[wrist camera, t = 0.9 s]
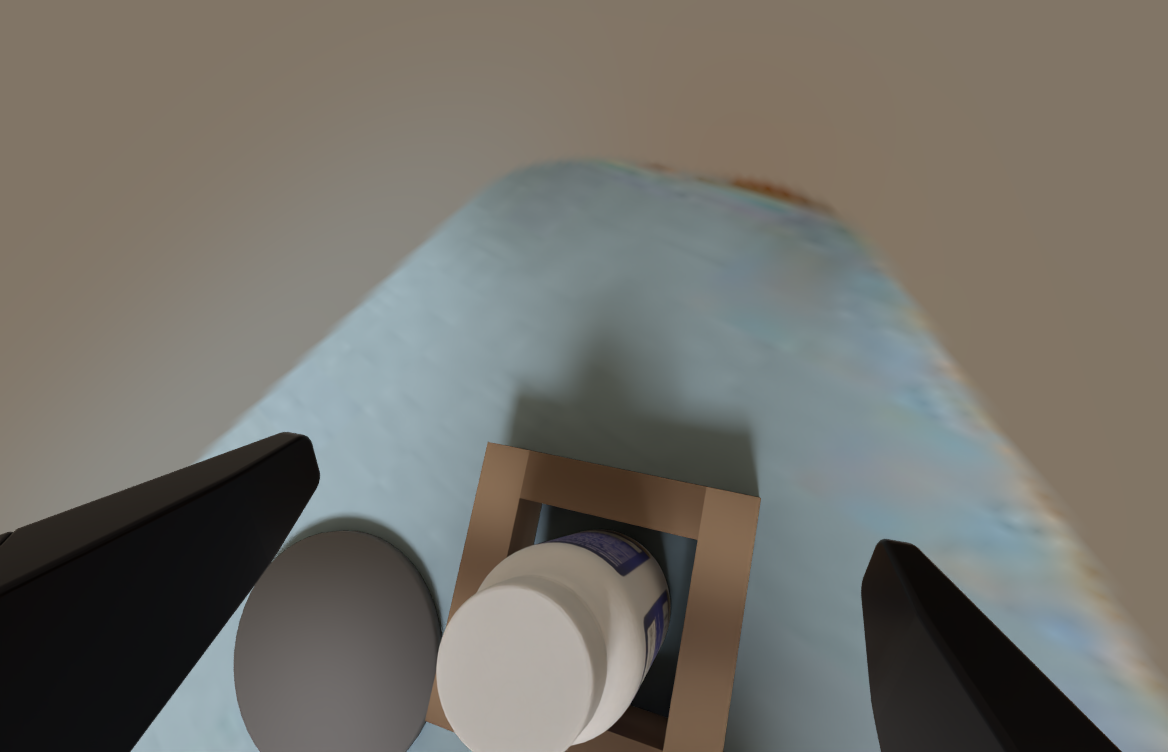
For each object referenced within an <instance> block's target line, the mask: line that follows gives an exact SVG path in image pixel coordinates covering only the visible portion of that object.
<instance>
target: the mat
mask: <svg viewBox="0 0 1168 752" xmlns="http://www.w3.org/2000/svg"><path fill="white" fill-rule="evenodd" d="M440 643H441V632H440V626H439V620H438V616H437V612H436V609H435V605H434V602H433V599H432V597H431V594H430V592H429V590H428V587H427V586H426V584H425V582H424V580H423V578H422V577H421V575H420V573H419V572H418V571H417V569H416V568H415V567H414V565H413V564H412V563H411V562H410V560H409V559H408V558H407V557H406V556H405V555H404V554H403V553H402V552H400V551H399V550H398V549H397V548H395V547H394V546H393V545H392V544H390V543H388V542H386V541H385V540H383V539H381V538H379V537H376V536H374V535H371V534H368V533H363V532H358V531H334V532H326V533H320V534H316V535H313V536H310V537H307V538H305V539H303V540H301V541H299V542H297V543H295V544H294V545H292V546H291V547H289V548H287V549H286V550H285V551H284V552H282V553H281V554H280V555H279V556H278V557H277V558H276V559H275V560H274V561H273V562H272V563H271V564H270V565H269V566H268V568H267V569H266V570H265V572H264V573H263V575H262V576H261V577H260V579H259V580H258V581H257V583H256V584H255V586H254V588H253V590H252V591H251V593H250V595H249V598H248V600H247V602H246V604H245V607H244V610H243V613H242V616H241V619H240V622H239V627H238V631H237V635H236V642H235V650H234V681H235V689H236V695H237V701H238V705H239V708H240V712H241V716H242V718H243V721H244V723H245V726H246V728H247V731H248V733H249V734H250V736H251V738H252V740H253V742H254V744H255V745H256V747H257V748H258V750H259V751H260V752H406V751H407V750H408V749H409V748H410V746H411V745H412V744H413V742H414V741H415V740H416V738H417V737H418V736H419V734H420V732H421V730H422V728H423V727H424V725H425V723H426V721H425V719H426V714H427V710H428V705H429V701H430V696H431V692H432V687H433V683H434V679H435V674H436V666H437V657H438V651H439V646H440Z"/></svg>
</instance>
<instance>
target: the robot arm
mask: <svg viewBox="0 0 1168 752" xmlns="http://www.w3.org/2000/svg"><path fill="white" fill-rule="evenodd" d="M319 480H320V471H319V467H318V464H317V460H316V456H315V453H314V449H313V445H312V442H311V440H310V439H309V438H308V437H307V436H305V435H301V434H296V433H290V432H282V433H279V434H276V435H273V436H270V437H268V438H265V439H262V440H259V441H257V442H254V443H251V444H249V445H246V446H243V447H240V448H238V449H235V450H232V451H229V452H227V453H224V454H221V455H218V456H216V457H213V458H210V459H207V460H205V461H202V462H199V463H196V464H194V465H191V466H188V467H185V468H183V469H180V470H177V471H174V472H172V473H169V474H166V475H164V476H161V477H158V478H155V479H153V480H150V481H147V482H144V483H142V484H139V485H136V486H133V487H131V488H128V489H125V490H123V491H120V492H117V493H114V494H112V495H109V496H106V497H103V498H101V499H98V500H95V501H92V502H90V503H87V504H84V505H81V506H79V507H76V508H73V509H70V510H68V511H65V512H62V513H60V514H57V515H54V516H51V517H48V518H46V519H43V520H40V521H38V522H35V523H32V524H29V525H26V526H24V527H21V528H18V529H17V530H15V531H14V532H7V533H4V534H1V535H0V752H131V750H132V749H133V748H134V746H135V745H136V744H137V742H138V741H139V740H140V738H141V737H142V736H143V734H144V733H145V732H146V730H147V729H148V728H149V726H150V725H151V723H152V722H153V721H154V719H155V718H156V717H157V715H158V714H159V713H160V711H161V710H162V709H163V707H164V706H165V705H166V703H167V702H168V701H169V699H170V698H171V697H172V695H173V694H174V693H175V691H176V690H177V689H178V687H179V686H180V685H181V683H182V682H183V681H184V679H185V678H186V677H187V675H188V674H189V673H190V671H191V670H192V669H193V667H194V666H195V665H196V663H197V662H198V661H199V659H200V658H201V656H202V655H203V654H204V652H205V651H206V650H207V648H208V647H209V646H210V644H211V643H212V642H213V640H214V639H215V638H216V636H217V635H218V634H219V632H220V631H221V630H222V628H223V627H224V626H225V624H226V623H227V622H228V620H229V619H230V618H231V616H232V615H233V614H234V612H235V611H236V610H237V608H238V607H239V606H240V604H241V603H242V602H243V600H244V599H245V598H246V596H247V595H248V594H249V592H250V591H251V589H252V588H253V587H254V585H255V584H256V583H257V581H258V580H259V579H260V577H261V576H262V575H263V573H264V572H265V570H266V569H267V568H268V566H269V565H270V563H271V562H272V560H273V559H274V557H275V555H276V554H277V552H278V551H279V549H280V548H281V546H282V544H283V543H284V541H285V539H286V538H287V536H288V534H289V533H290V531H291V530H292V528H293V526H294V525H295V523H296V521H297V520H298V518H299V516H300V515H301V513H302V511H303V510H304V508H305V507H306V505H307V503H308V502H309V500H310V498H311V497H312V495H313V493H314V492H315V490H316V488H317V486H318V484H319ZM861 598H862V609H863V620H864V630H865V641H866V652H867V663H868V674H869V685H870V693H871V702H872V708H873V714H874V719H875V725H876V729H877V734H878V739H879V744H880V749H881V752H1122V751H1121V750H1120V749H1119V748H1118V747H1117V746H1116V745H1115V744H1114V743H1113V742H1112V741H1111V740H1110V739H1109V738H1108V737H1107V736H1106V735H1105V734H1104V733H1103V732H1102V731H1101V730H1100V729H1099V728H1098V727H1097V726H1096V725H1095V724H1094V723H1093V722H1092V721H1091V720H1090V719H1089V718H1088V717H1087V716H1086V715H1085V714H1084V713H1083V712H1082V711H1081V710H1080V709H1079V708H1078V707H1077V706H1076V705H1075V704H1074V703H1073V702H1072V701H1071V700H1070V699H1069V698H1068V697H1067V696H1066V695H1065V694H1064V693H1063V692H1062V691H1061V690H1060V689H1059V688H1058V687H1057V686H1056V685H1055V684H1054V683H1053V682H1052V681H1051V680H1050V679H1049V678H1048V677H1047V676H1046V675H1045V674H1044V673H1043V672H1042V671H1041V670H1040V669H1039V668H1038V667H1037V666H1036V665H1035V664H1034V663H1033V662H1032V661H1031V660H1030V659H1029V658H1028V657H1027V656H1026V655H1025V654H1024V653H1023V652H1022V651H1021V650H1020V649H1019V648H1018V647H1017V646H1016V645H1015V644H1014V643H1013V642H1012V641H1011V640H1010V639H1009V638H1008V637H1007V636H1006V635H1005V634H1004V633H1003V632H1002V631H1001V630H1000V629H999V628H998V627H997V626H996V625H995V624H994V623H993V622H992V621H991V620H990V619H989V618H988V617H987V616H986V615H985V614H984V613H983V612H982V611H981V610H980V609H979V608H978V607H977V606H976V605H975V604H974V603H973V602H972V601H971V600H970V599H969V598H968V597H967V596H966V595H965V594H964V593H963V592H962V591H961V590H960V589H959V588H958V587H957V586H956V585H955V584H954V583H953V582H952V581H951V580H950V579H949V578H948V577H947V576H946V575H945V574H944V573H943V572H942V571H941V570H940V569H939V568H938V567H937V566H936V565H935V564H934V563H933V562H932V561H931V560H930V559H929V558H928V557H927V556H926V555H925V554H924V553H923V552H922V551H921V550H920V549H919V548H917V547H916V546H915V545H913V544H911V543H907V542H901V541H896V540H890V539H882V540H880V541H879V542H878V543H877V545H876V547H875V550H874V552H873V555H872V557H871V560H870V562H869V565H868V567H867V570H866V572H865V575H864V577H863V581H862V587H861Z"/></svg>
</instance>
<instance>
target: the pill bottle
mask: <svg viewBox="0 0 1168 752" xmlns="http://www.w3.org/2000/svg"><path fill="white" fill-rule="evenodd" d="M670 615H671V602H670V595H669V589H668V585H667V582H666V579H665V576H664V574H663V571H662V569H661V568H660V566H659V564H658V563H657V561H656V560H655V558H654V557H653V556H652V554H651V553H650V552H649V551H648V550H647V549H646V548H645V547H644V546H643V545H641V544H640V543H639V542H637V541H636V540H634V539H633V538H631V537H629V536H627V535H625V534H622V533H619V532H616V531H612V530H605V529H595V530H587V531H583V532H579V533H575V534H572V535H568V536H564V537H561V538H557V539H554V540H550V541H546V542H542V543H539V544H535V545H532V546H529V547H526V548H524V549H521V550H519V551H517V552H515V553H513V554H512V555H510V556H508V557H507V558H505V559H504V560H503V561H501V562H500V563H499V564H498V565H497V566H496V567H495V568H494V569H493V570H492V571H491V572H490V573H489V574H488V575H487V577H486V578H485V579H484V581H483V582H482V584H481V586H480V587H479V589H478V591H477V593H476V594H474V595H473V596H471V597H470V598H469V599H468V600H467V601H465V602H464V603H463V604H462V605H461V607H460V608H459V609H458V610H457V611H456V612H455V614H454V615H453V617H452V618H451V620H450V622H449V623H448V625H447V627H446V629H445V632H444V634H443V637H442V639H441V643H440V646H439V651H438V657H437V666H436V677H437V688H438V693H439V698H440V701H441V705H442V708H443V710H444V713H445V716H446V718H447V720H448V722H449V723H450V725H451V727H452V728H453V730H454V732H455V733H456V734H457V736H458V737H459V738H460V740H461V741H462V742H463V743H464V744H465V745H466V746H467V747H468V748H469V749H470V750H471V751H473V752H565V751H566V750H567V749H568V748H569V747H570V746H571V745H576V744H580V743H584V742H586V741H588V740H591V739H593V738H595V737H597V736H598V735H600V734H602V733H603V732H605V731H606V730H607V729H609V728H610V727H611V726H612V725H613V724H614V723H615V722H616V721H617V720H618V719H619V718H620V717H621V716H622V715H623V713H624V712H625V711H626V709H627V708H628V707H629V705H630V704H631V702H632V701H633V699H634V698H635V696H636V694H637V692H638V690H639V688H640V686H641V684H642V682H643V680H644V678H645V676H646V674H647V672H648V670H649V668H650V667H651V665H652V663H653V661H654V659H655V657H656V656H657V653H658V652H659V650H660V648H661V646H662V644H663V641H664V639H665V636H666V633H667V630H668V627H669V622H670Z"/></svg>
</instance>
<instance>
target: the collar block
mask: <svg viewBox="0 0 1168 752" xmlns="http://www.w3.org/2000/svg"><path fill="white" fill-rule="evenodd" d="M760 501H761V498H760V497H755V496H750V495H745V494H740V493H736V492H731V491H726V490H721V489H716V488H711V487H706V486H701V485H697V484H692V483H687V482H682V481H677V480H672V479H667V478H662V477H658V476H653V475H648V474H643V473H638V472H633V471H628V470H623V469H619V468H614V467H609V466H604V465H599V464H594V463H589V462H584V461H580V460H575V459H570V458H565V457H560V456H555V455H550V454H545V453H541V452H536V451H531V450H526V449H521V448H516V447H511V446H506V445H501V444H495V443H490V442H488V444H487V448H486V452H485V457H484V461H483V466H482V470H481V475H480V479H479V483H478V488H477V492H476V497H475V501H474V506H473V510H472V515H471V519H470V523H469V528H468V532H467V537H466V541H465V546H464V550H463V554H462V559H461V563H460V568H459V572H458V577H457V581H456V585H455V590H454V594H453V599H452V603H451V608H450V612H449V617H448V621H447V625H448V623H449V622H450V620H451V618H452V617H453V615H454V614H455V612H456V611H457V610H458V609H459V608H460V607H461V605H462V604H463V603H464V602H465V601H467V600H468V599H469V598H470V597H471V596H473V595H474V594H476V593H477V591H478V589H479V587H480V586H481V584H482V582H483V581H484V579H485V578H486V577H487V575H488V574H489V573H490V572H491V571H492V570H493V569H494V568H495V567H496V566H497V565H498V564H499V563H500V562H501V561H503V560H504V559H505V558H507V557H508V556H510V555H512V554H513V553H515V552H517V551H519V550H521V549H524V548H526V547H529V546H532V545H534V540H535V535H536V530H537V525H538V521H539V516H540V511H541V506H542V503H543V504H547V505H552V506H556V507H560V508H564V509H569V510H573V511H577V512H581V513H585V514H590V515H594V516H598V517H602V518H607V519H611V520H615V521H619V522H624V523H628V524H632V525H636V526H641V527H645V528H649V529H653V530H657V531H662V532H666V533H670V534H674V535H679V536H683V537H687V538H691V539H696V540H698V542H697V548H696V554H695V560H694V566H693V572H692V578H691V584H690V590H689V596H688V602H687V608H686V614H685V620H684V626H683V632H682V639H681V645H680V651H679V657H678V663H677V669H676V675H675V681H674V687H673V693H672V699H671V705H670V711H669V717H668V718H667V717H664V716H661V715H658V714H655V713H652V712H649V711H646V710H643V709H641V708H638V707H635V706H632V705H629V707H628V708H627V709H626V711H625V712H624V713H623V715H622V716H621V717H620V718H619V719H618V720H617V721H616V722H615V723H614V724H613V725H612V726H611V727H610V728H609V729H607V730H606V731H605V732H603V733H602V734H600V735H598V736H597V737H595V738H593V739H591V740H588V741H586V742H584V743H580V744H576V745H571V746H570V747H569V748H568V749H567V750H566V751H565V752H723V747H724V741H725V734H726V727H727V721H728V714H729V707H730V701H731V694H732V687H733V681H734V674H735V668H736V661H737V654H738V648H739V641H740V634H741V628H742V621H743V614H744V608H745V601H746V594H747V588H748V581H749V574H750V568H751V561H752V554H753V548H754V541H755V535H756V528H757V521H758V515H759V508H760ZM447 625H446V627H447ZM425 721H427V722H429V723H432V724H434V725H437V726H440V727H442V728H445V729H447V730H450V731H452V732H454V730H453V728H452V727H451V725H450V723H449V722H448V720H447V718H446V716H445V713H444V710H443V708H442V705H441V701H440V698H439V693H438V688H437V677H436V674H435V679H434V683H433V687H432V692H431V696H430V701H429V705H428V710H427V714H426V719H425Z"/></svg>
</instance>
